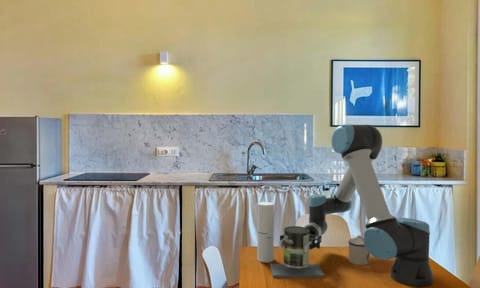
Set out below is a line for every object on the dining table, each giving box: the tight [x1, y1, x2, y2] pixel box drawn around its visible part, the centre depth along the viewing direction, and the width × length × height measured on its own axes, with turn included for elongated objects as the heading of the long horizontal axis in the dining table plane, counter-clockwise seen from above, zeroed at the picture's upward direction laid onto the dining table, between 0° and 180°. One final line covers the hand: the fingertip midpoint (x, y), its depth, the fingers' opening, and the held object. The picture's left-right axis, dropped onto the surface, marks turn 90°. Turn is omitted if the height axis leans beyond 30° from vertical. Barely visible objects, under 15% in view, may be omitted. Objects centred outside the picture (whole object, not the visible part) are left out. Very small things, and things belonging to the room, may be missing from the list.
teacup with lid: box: [348, 234, 370, 266], centre depth 163 cm, size 12×9×12 cm
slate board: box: [269, 263, 325, 279], centre depth 150 cm, size 20×12×1 cm, turn 91°
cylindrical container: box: [256, 201, 275, 263], centre depth 164 cm, size 7×7×25 cm
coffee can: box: [282, 225, 310, 268], centre depth 150 cm, size 10×10×14 cm
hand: (292, 247), depth 146 cm, fingers closed on coffee can, 10 cm apart
